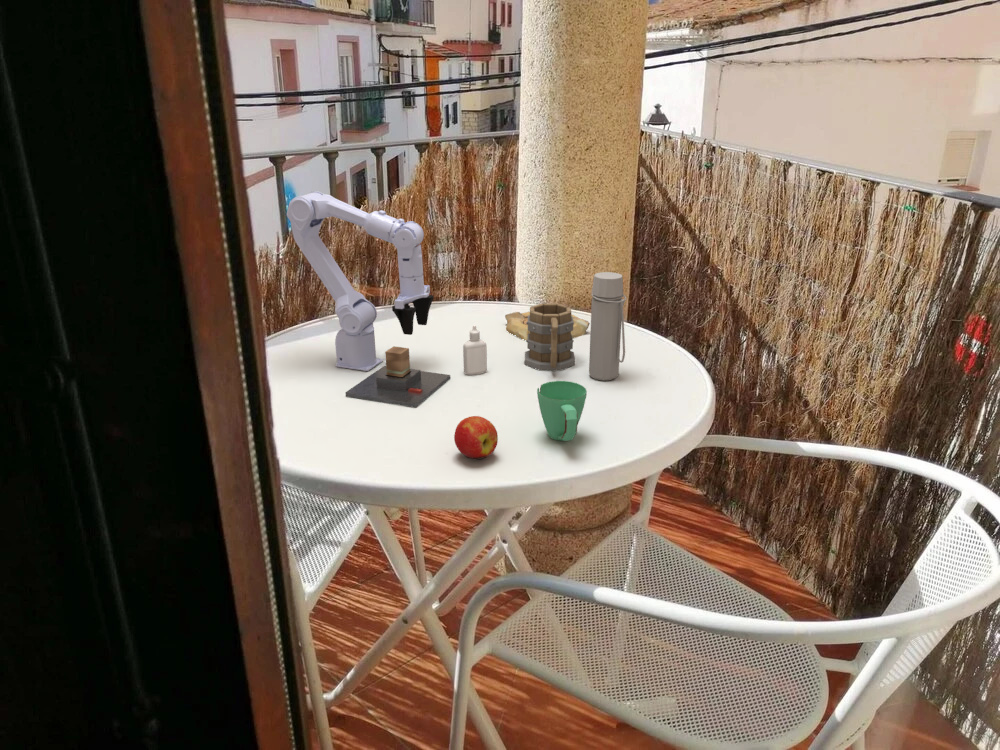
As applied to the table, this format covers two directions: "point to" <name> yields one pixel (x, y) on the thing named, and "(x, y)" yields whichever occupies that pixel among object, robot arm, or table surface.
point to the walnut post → (397, 361)
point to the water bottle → (606, 326)
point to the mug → (561, 408)
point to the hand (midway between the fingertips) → (415, 329)
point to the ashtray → (520, 329)
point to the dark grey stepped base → (399, 387)
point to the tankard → (550, 337)
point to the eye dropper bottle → (475, 354)
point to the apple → (476, 437)
